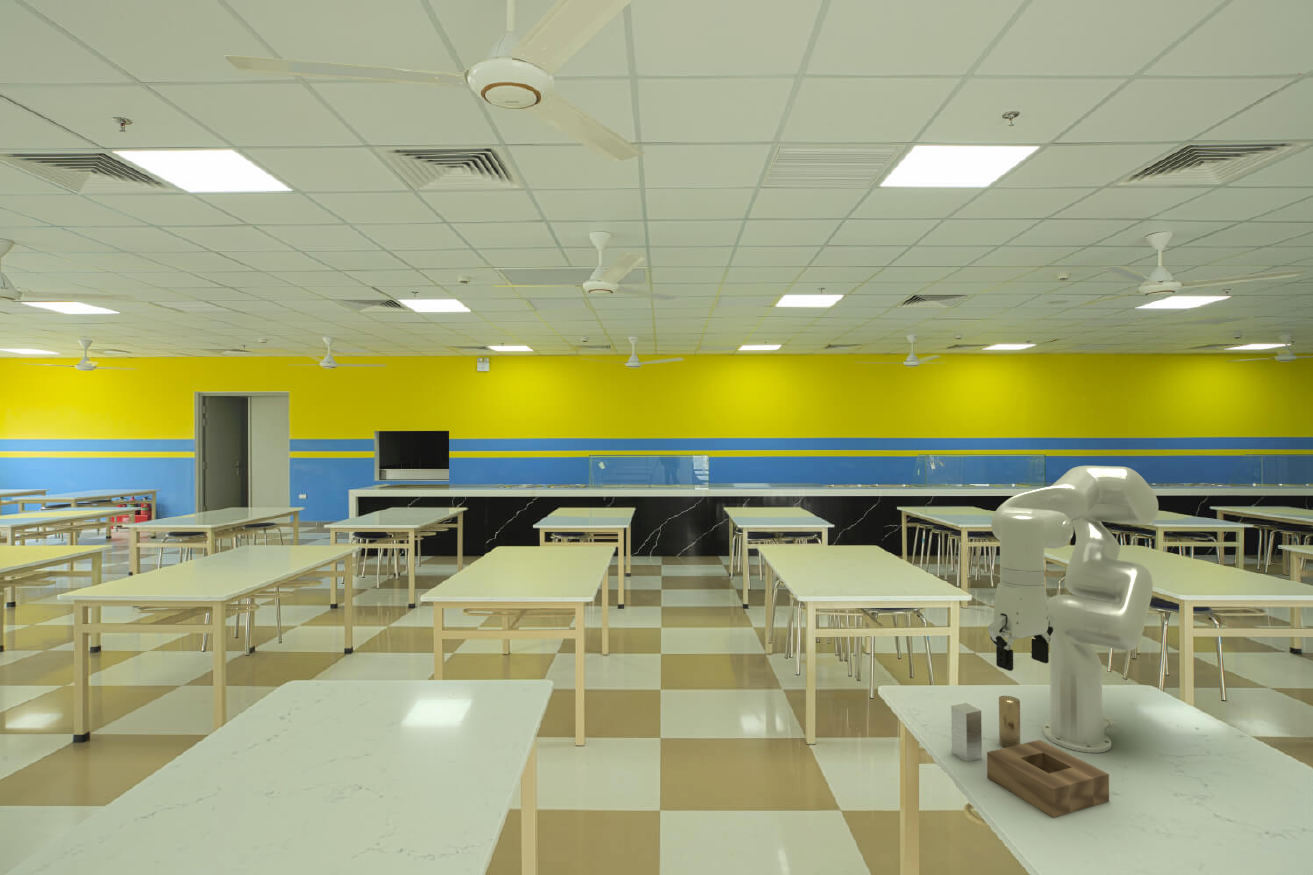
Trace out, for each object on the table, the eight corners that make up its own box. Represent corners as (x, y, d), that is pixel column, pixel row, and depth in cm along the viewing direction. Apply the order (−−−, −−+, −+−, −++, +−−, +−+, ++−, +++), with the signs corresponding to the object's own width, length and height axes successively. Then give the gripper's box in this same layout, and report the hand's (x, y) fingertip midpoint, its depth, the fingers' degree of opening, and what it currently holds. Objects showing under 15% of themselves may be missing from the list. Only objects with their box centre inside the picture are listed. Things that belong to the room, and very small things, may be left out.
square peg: (966, 749, 136) (965, 702, 136) (981, 758, 132) (981, 710, 132) (951, 752, 135) (951, 705, 135) (966, 761, 131) (966, 713, 131)
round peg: (1008, 739, 140) (1008, 694, 140) (1024, 748, 136) (1024, 701, 136) (994, 742, 139) (994, 697, 139) (1010, 751, 135) (1010, 704, 135)
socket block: (1039, 764, 130) (1039, 739, 130) (1109, 801, 116) (1108, 773, 116) (987, 777, 125) (987, 752, 125) (1053, 817, 112) (1052, 789, 112)
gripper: (1034, 569, 130) (1035, 652, 130) (973, 577, 124) (973, 664, 124) (1070, 576, 124) (1071, 664, 124) (1007, 585, 117) (1008, 678, 117)
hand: (1022, 664), depth 124 cm, fingers open, 9 cm apart
